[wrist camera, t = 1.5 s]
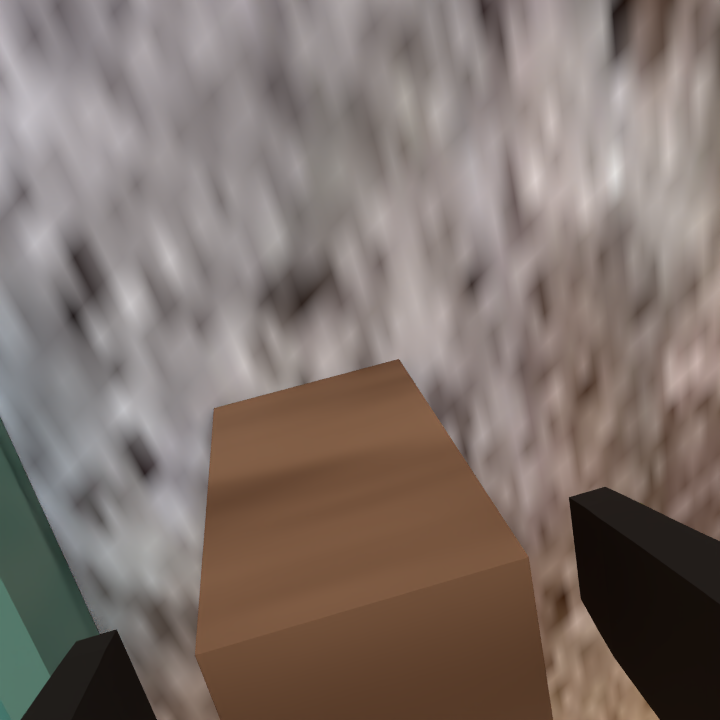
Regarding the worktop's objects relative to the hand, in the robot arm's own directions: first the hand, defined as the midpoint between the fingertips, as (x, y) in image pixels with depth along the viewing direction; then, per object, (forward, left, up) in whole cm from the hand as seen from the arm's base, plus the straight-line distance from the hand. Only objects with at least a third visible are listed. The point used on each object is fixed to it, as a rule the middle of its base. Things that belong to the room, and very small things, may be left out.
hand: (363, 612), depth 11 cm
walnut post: (0, 0, -5) cm, 5 cm away
